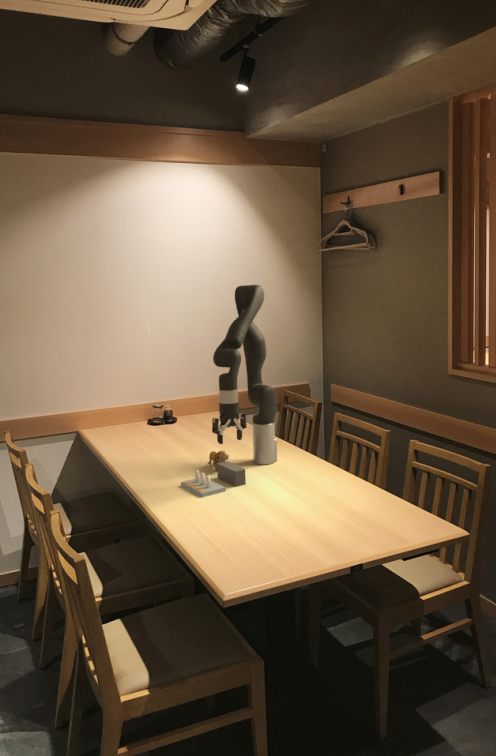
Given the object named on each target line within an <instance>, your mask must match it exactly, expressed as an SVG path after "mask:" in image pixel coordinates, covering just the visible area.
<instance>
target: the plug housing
mask: <svg viewBox="0 0 496 756" xmlns="http://www.w3.org/2000/svg"><path fill="white" fill-rule="evenodd" d="M216 473H217V479H219V480H221V481H223V482H225V483H227V484H229V485H232V486H233V487H235V488H236V487H239V486H243V485H246V484H247V482H246V480H247V479H246V468H244V467H241V466H240V465H237V464H235V463H232V462H230V461H228V460H226V461H225V462H221V463H217V472H216Z"/></svg>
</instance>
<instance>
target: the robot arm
mask: <svg viewBox="0 0 496 756" xmlns="http://www.w3.org/2000/svg"><path fill="white" fill-rule="evenodd" d="M264 300H265V292H264V288H263V287H262V286H261V285H259V284H246V285H239V286H236V288H235V290H234V302H235V306H236V311H237V317H236V318H235V319H234V320H233V321H232V322H231V323H230V325H229V327H228V330H227V332H226V335H225V337H224V339H223V340H222V341H221V342H220V343H219V345H218V346H217V347H216V349H215V351H214V353H213V358H212V360H213V364H214V365H215V366H216V367H217V368H229V371H228V372H224V373H222V374H220V375H218V412H219V413H218V414H219V417H213V418H212V422H211V423H212V426H211V433H212V434H215V435H216V441H217V443H218V444H219V445H223V444H224V434H223V433H224V431H225V430H226V429H227V428H230V427H231V428H232V427H235V429H236V440H237V441H242V439H243V430H244V429H247V416H246V415H247V414H246V413H243V412H240V411H239V410H240V409H239V408H240V407H239V404H240V402H239V401H240V400H239V391H238V376H239V371H240V367H241V364H242V354H241V352H240V350H239V349H241V348H242V347H243V353H244V359H245V360H244V361H245V368H246V369H245V370H246V382H247V396H248V397H247V398H248V401H249V402H250V403H251V405H253V406H257V407H259V409H258V410H259V411H258V413H257V414H254V415H253V416H252V444H253V445H252V446H253V448H252V449H253V450H252V451H253V463H254V464H257V465H270V464H274V463H275V462H277V461H278V445H277V444H278V440H277V439H276V435H275V434H276V433H275V432H276V431H275V429H276V428H275V419H276V415H277V400H278V399H277V391H276V390H275V388H274V387H273V386H271V385H265V384H263V380H262V369H263V366H264V363H265V361H266V357H267V347H266V340H265V336H264V334H263V333H262V331H261V330H260V329H259V328H258V326H257V325H256V324H255V322H254V319H255V318H256V316H257V314H258V313H259V311H260V309H261V308H262V305H263V304H264Z"/></svg>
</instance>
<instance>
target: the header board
mask: <svg viewBox="0 0 496 756" xmlns="http://www.w3.org/2000/svg"><path fill="white" fill-rule="evenodd" d="M180 486H181V487H183V488H185V489H187V490H189V491H190V492H192V493H194V494H196V495H198V496H199V497H202V498H204V497H208V496H212V495H215V494H219V493H224V492H226V487H225V486H223V485H221V484H220V483H217V482H216V481H213V480H211V475H205V472H200V470H199V469H196V470H194V478H192V479H187V480H183V481H180Z"/></svg>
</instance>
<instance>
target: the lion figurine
mask: <svg viewBox="0 0 496 756" xmlns="http://www.w3.org/2000/svg"><path fill="white" fill-rule="evenodd" d="M208 458H209V461H208V462H207V464H208V466H209V467H208V468H209V469H211V468H213V467H212V465H213V466H214V467H215V468H214V469H215V471H214V472H215V473H217V463H221V462H225V461H228V460H229V458H230V455H229V454H227V453H226V451H225V450H220V451H218V452H216V451H213V450H212V451H211V452H210V453H209V457H208Z"/></svg>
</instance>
